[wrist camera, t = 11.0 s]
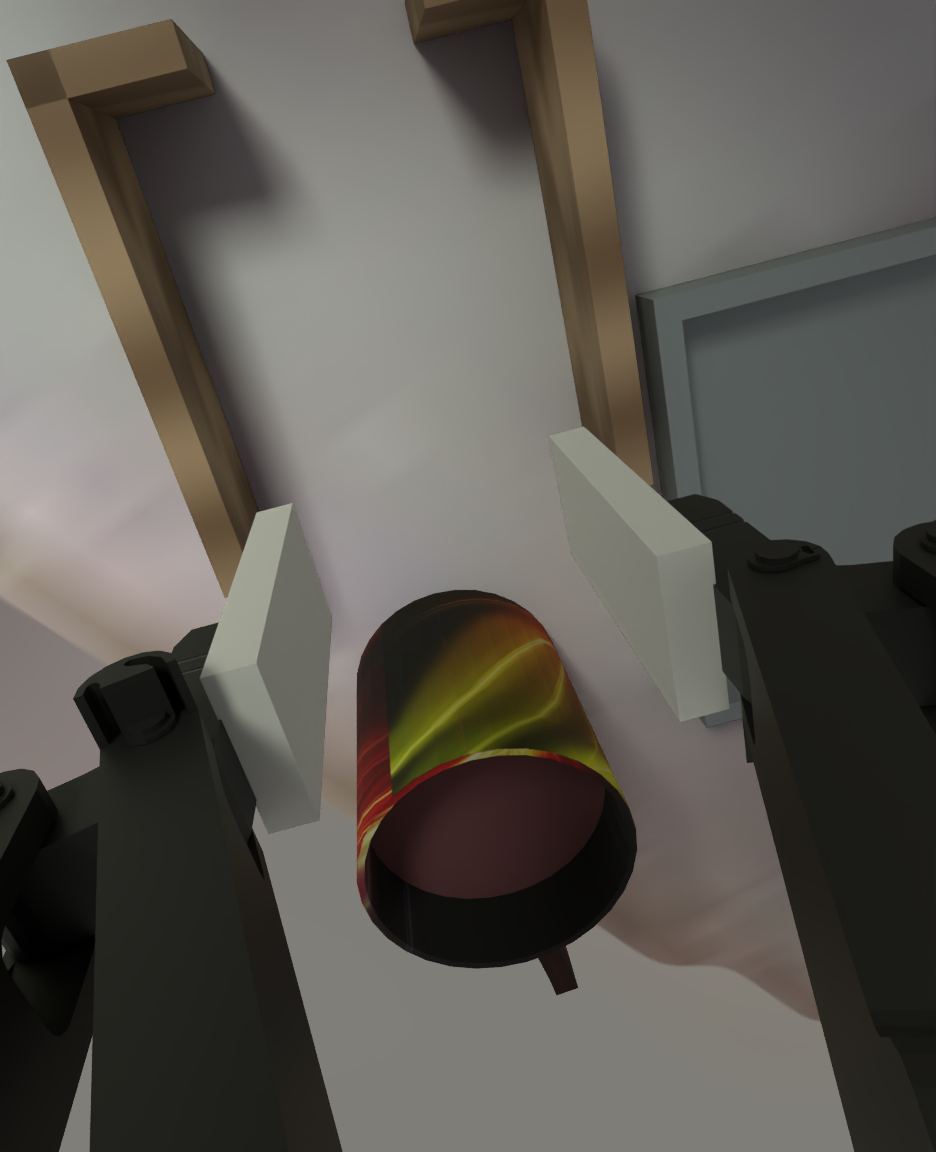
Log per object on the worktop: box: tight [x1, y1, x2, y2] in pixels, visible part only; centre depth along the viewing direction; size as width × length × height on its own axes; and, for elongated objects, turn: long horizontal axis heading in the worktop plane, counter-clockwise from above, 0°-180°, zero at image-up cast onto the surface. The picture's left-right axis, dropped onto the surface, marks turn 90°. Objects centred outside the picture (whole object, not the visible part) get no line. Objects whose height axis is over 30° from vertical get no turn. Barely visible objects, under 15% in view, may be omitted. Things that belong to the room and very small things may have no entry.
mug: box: [357, 590, 637, 995], centre depth 33 cm, size 10×14×12 cm
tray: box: [636, 217, 936, 728], centre depth 35 cm, size 20×16×2 cm
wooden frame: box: [7, 0, 654, 598], centre depth 28 cm, size 17×16×5 cm
